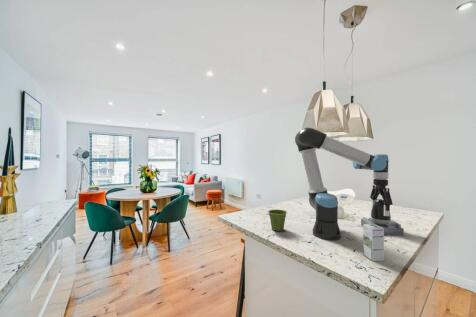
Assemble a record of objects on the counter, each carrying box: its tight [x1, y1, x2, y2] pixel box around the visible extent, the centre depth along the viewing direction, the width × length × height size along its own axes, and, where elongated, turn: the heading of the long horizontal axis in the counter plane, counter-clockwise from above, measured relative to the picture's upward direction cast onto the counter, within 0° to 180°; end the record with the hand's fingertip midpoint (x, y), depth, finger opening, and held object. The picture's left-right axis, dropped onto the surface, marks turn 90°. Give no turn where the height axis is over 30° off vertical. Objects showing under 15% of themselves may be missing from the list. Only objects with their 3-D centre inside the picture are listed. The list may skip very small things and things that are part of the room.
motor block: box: [360, 216, 405, 237], centre depth 125 cm, size 16×20×6 cm
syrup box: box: [362, 224, 385, 262], centre depth 88 cm, size 6×6×14 cm
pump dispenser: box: [370, 198, 392, 225], centre depth 123 cm, size 10×10×15 cm
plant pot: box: [267, 209, 288, 232], centre depth 124 cm, size 12×12×11 cm
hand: (380, 212), depth 123 cm, fingers open, 13 cm apart
